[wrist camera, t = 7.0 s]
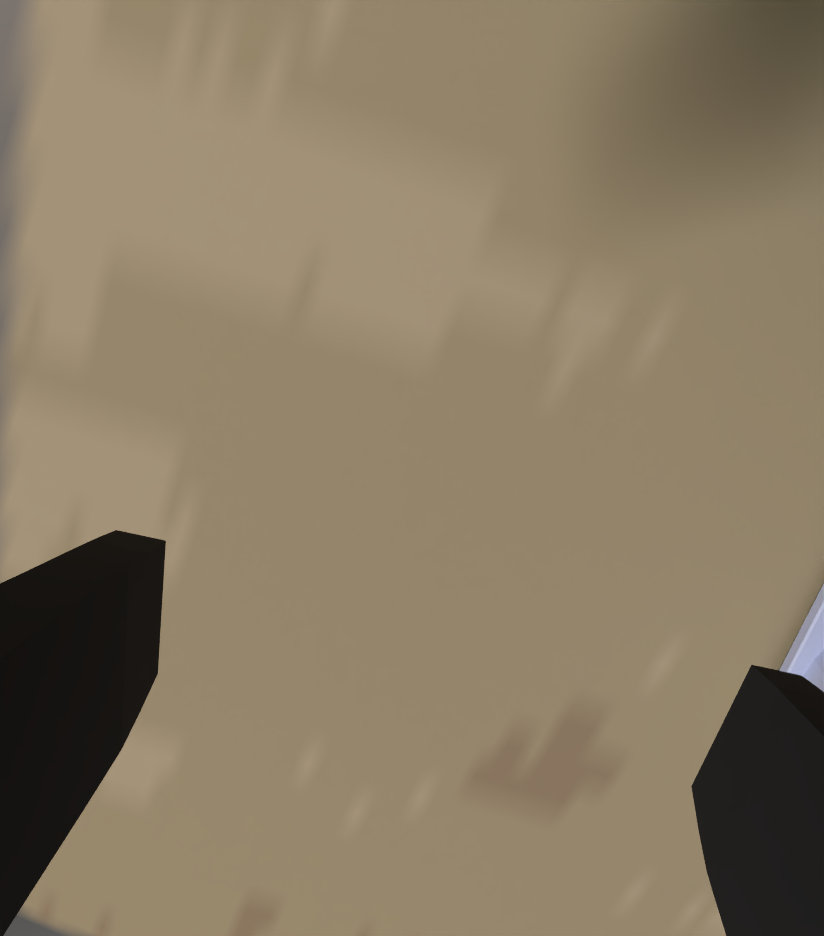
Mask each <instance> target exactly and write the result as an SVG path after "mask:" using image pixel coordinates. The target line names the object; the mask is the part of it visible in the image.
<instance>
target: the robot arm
mask: <svg viewBox="0 0 824 936" xmlns="http://www.w3.org/2000/svg"><path fill="white" fill-rule="evenodd" d="M165 543H166V541H164V540H160V539H155V538H150V537H146V536H141V535H136V534H131V533H127V532H122V531H117V530H116V531H113V532H111V533H108V534H106V535H103V536H101V537H99V538H96V539H94V540H92V541H90V542H87V543H85V544H83V545H81V546H79V547H77V548H75V549H72V550H70V551H68V552H66V553H64V554H62V555H60V556H58V557H56V558H53V559H51V560H49V561H47V562H45V563H43V564H41V565H39V566H37V567H35V568H33V569H30V570H28V571H26V572H24V573H22V574H20V575H18V576H16V577H13V578H11V579H9V580H7V581H5V582H3V583H1V584H0V936H3V935H4V934H5V932H6V930H7V929H8V927H9V926H10V924H11V923H12V921H13V919H14V918H15V916H16V915H17V913H18V912H19V910H20V908H21V907H22V905H23V904H24V902H25V901H26V899H27V898H28V896H29V894H30V893H31V891H32V890H33V888H34V887H35V885H36V883H37V882H38V880H39V879H40V877H41V876H42V874H43V872H44V871H45V869H46V868H47V866H48V865H49V863H50V862H51V860H52V858H53V857H54V855H55V854H56V852H57V851H58V849H59V847H60V846H61V844H62V843H63V841H64V840H65V838H66V836H67V835H68V833H69V832H70V830H71V829H72V827H73V826H74V824H75V822H76V821H77V819H78V818H79V816H80V815H81V813H82V811H83V810H84V808H85V807H86V805H87V804H88V802H89V800H90V799H91V797H92V796H93V794H94V792H95V791H96V789H97V788H98V786H99V784H100V783H101V781H102V780H103V778H104V777H105V775H106V773H107V772H108V770H109V769H110V767H111V765H112V764H113V762H114V761H115V759H116V757H117V756H118V754H119V752H120V751H121V749H122V747H123V745H124V743H125V741H126V739H127V737H128V735H129V733H130V731H131V729H132V727H133V725H134V723H135V721H136V719H137V717H138V715H139V713H140V711H141V708H142V706H143V704H144V702H145V700H146V698H147V696H148V693H149V691H150V689H151V687H152V685H153V683H154V680H155V678H156V676H157V674H158V660H159V643H160V627H161V610H162V593H163V577H164V560H165ZM692 792H693V798H694V804H695V810H696V816H697V823H698V829H699V834H700V839H701V844H702V849H703V854H704V859H705V864H706V869H707V873H708V877H709V880H710V884H711V887H712V890H713V894H714V897H715V900H716V904H717V907H718V910H719V913H720V916H721V920H722V923H723V926H724V929H725V933H726V936H824V584H823V586H822V588H821V590H820V592H819V594H818V596H817V598H816V600H815V602H814V604H813V606H812V608H811V609H810V611H809V613H808V615H807V617H806V619H805V621H804V623H803V625H802V627H801V629H800V631H799V633H798V635H797V637H796V639H795V641H794V643H793V645H792V647H791V649H790V650H789V652H788V654H787V656H786V658H785V660H784V662H783V664H782V666H781V668H780V670H779V671H778V670H773V669H769V668H764V667H759V666H754V665H751V667H750V669H749V671H748V673H747V675H746V677H745V679H744V681H743V683H742V685H741V687H740V689H739V691H738V694H737V696H736V698H735V700H734V702H733V704H732V706H731V708H730V710H729V712H728V714H727V716H726V718H725V720H724V722H723V724H722V726H721V728H720V730H719V732H718V734H717V736H716V738H715V740H714V742H713V744H712V746H711V748H710V750H709V752H708V754H707V756H706V758H705V760H704V762H703V764H702V766H701V768H700V770H699V772H698V774H697V776H696V778H695V780H694V782H693V784H692Z"/></svg>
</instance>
